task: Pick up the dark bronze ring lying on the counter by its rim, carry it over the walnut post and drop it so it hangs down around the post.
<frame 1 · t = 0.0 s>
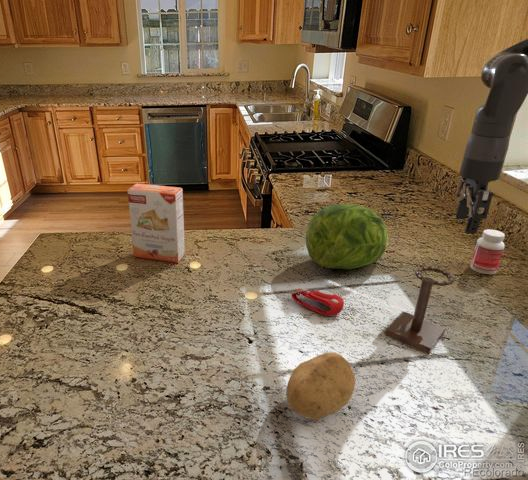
hand: (465, 225, 97), 18 cm above the countertop, tool pointing down, fingers open, 8 cm apart
post: (414, 334, 90), on the countertop
pill bottle: (482, 270, 114), on the countertop
potato: (316, 405, 73), on the countertop
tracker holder: (317, 304, 101), on the countertop
cracker box: (159, 257, 123), on the countertop
lettuce: (344, 263, 119), on the countertop
ring: (434, 276, 110), point 1 cm above the countertop
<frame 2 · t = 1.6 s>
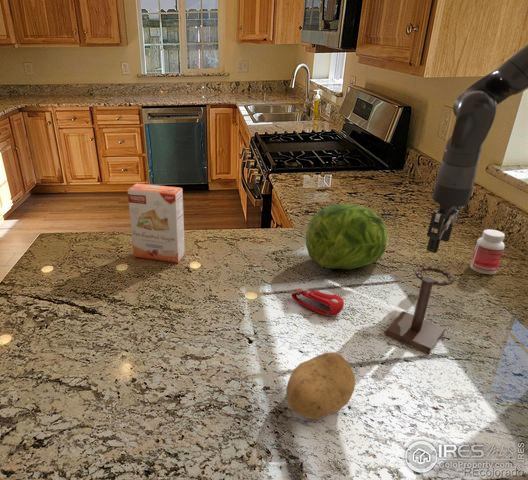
hand: (437, 245, 103), 11 cm above the countertop, tool pointing down, fingers open, 8 cm apart
nothing on the countertop moved.
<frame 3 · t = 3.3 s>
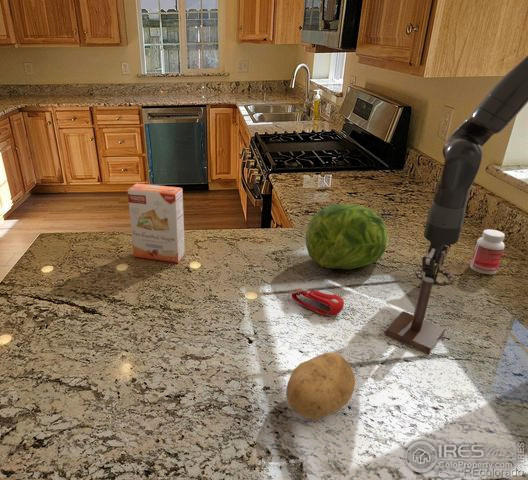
hand: (429, 283, 108), 0 cm above the countertop, tool pointing down, fingers closed on ring, 1 cm apart
ring: (434, 276, 110), point 1 cm above the countertop, touching gripper
everything else where it was.
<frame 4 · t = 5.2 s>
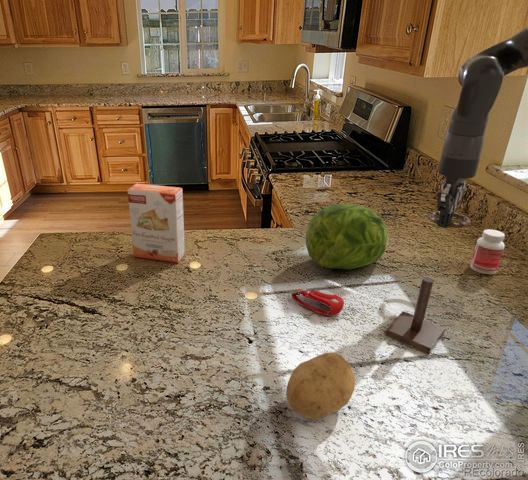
hand: (443, 225, 101), 16 cm above the countertop, tool pointing down, fingers closed on ring, 1 cm apart
ring: (449, 219, 103), point 17 cm above the countertop, touching gripper
everything else where it was.
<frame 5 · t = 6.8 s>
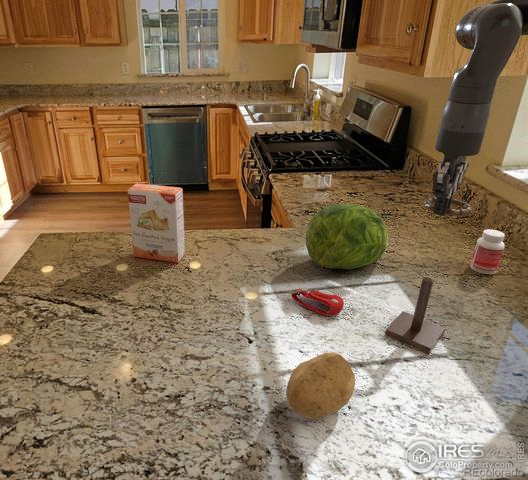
hand: (440, 213, 86), 25 cm above the countertop, tool pointing down, fingers closed on ring, 1 cm apart
ring: (447, 206, 89), point 25 cm above the countertop, touching gripper
everything else where it was.
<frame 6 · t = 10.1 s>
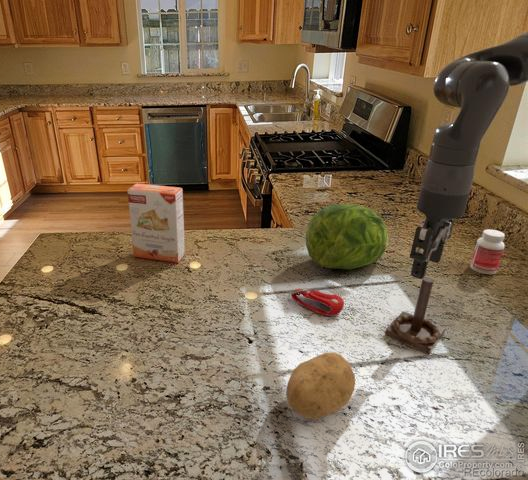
hand: (425, 268, 80), 18 cm above the countertop, tool pointing down, fingers open, 8 cm apart
ring: (416, 328, 88), point 2 cm above the countertop, touching post
everything else where it was.
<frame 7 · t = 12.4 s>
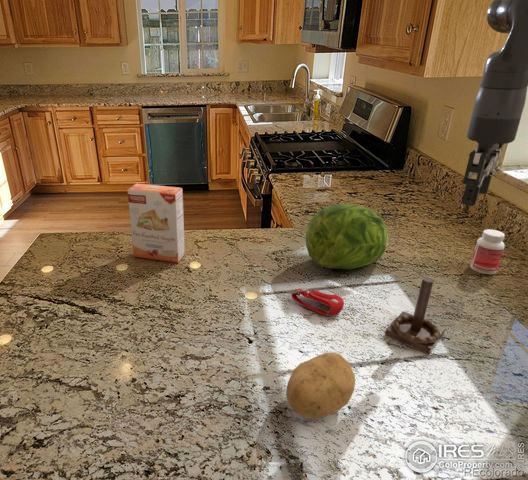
hand: (474, 198, 83), 28 cm above the countertop, tool pointing down, fingers open, 8 cm apart
nothing on the countertop moved.
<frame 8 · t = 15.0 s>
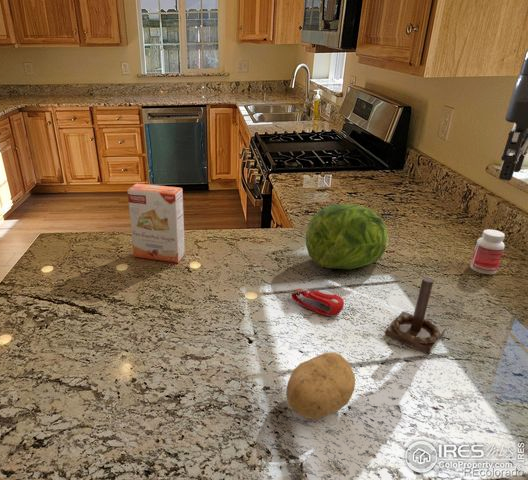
hand: (509, 175, 94), 29 cm above the countertop, tool pointing down, fingers open, 8 cm apart
nothing on the countertop moved.
at the end: ring 0.9 cm off-centre on the post, point 2.1 cm above the post's base; the gripper is holding nothing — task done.
